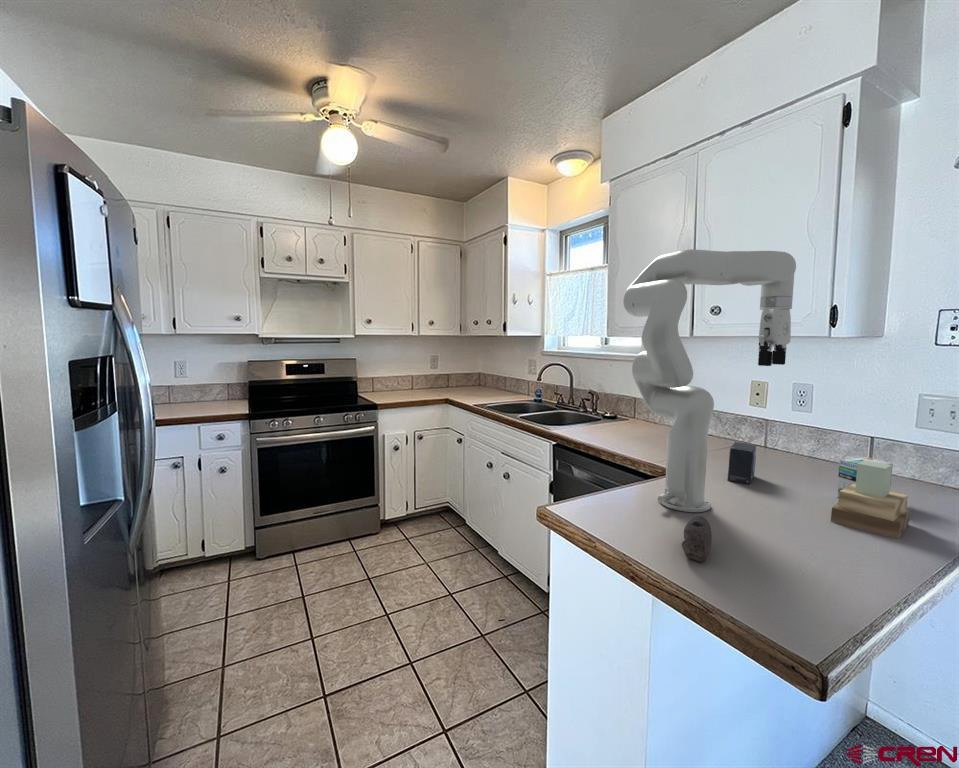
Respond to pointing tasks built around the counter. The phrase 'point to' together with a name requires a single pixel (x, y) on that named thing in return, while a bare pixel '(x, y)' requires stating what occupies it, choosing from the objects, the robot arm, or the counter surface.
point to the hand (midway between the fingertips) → (771, 365)
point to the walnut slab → (870, 522)
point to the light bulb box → (852, 471)
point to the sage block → (873, 478)
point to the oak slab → (873, 503)
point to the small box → (742, 462)
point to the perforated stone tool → (697, 539)
